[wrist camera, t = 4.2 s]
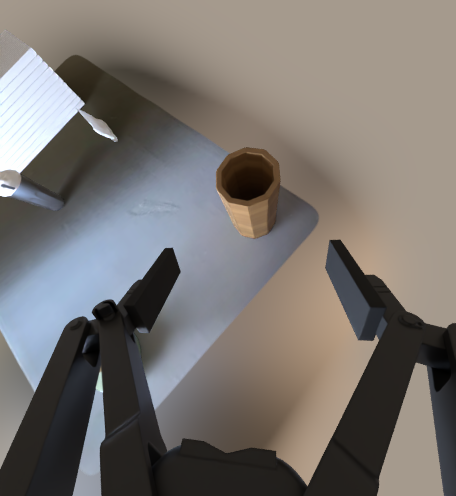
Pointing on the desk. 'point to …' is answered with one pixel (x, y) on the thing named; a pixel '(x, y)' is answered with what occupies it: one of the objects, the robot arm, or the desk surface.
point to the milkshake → (28, 191)
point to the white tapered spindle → (99, 126)
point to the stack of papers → (29, 103)
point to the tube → (250, 190)
